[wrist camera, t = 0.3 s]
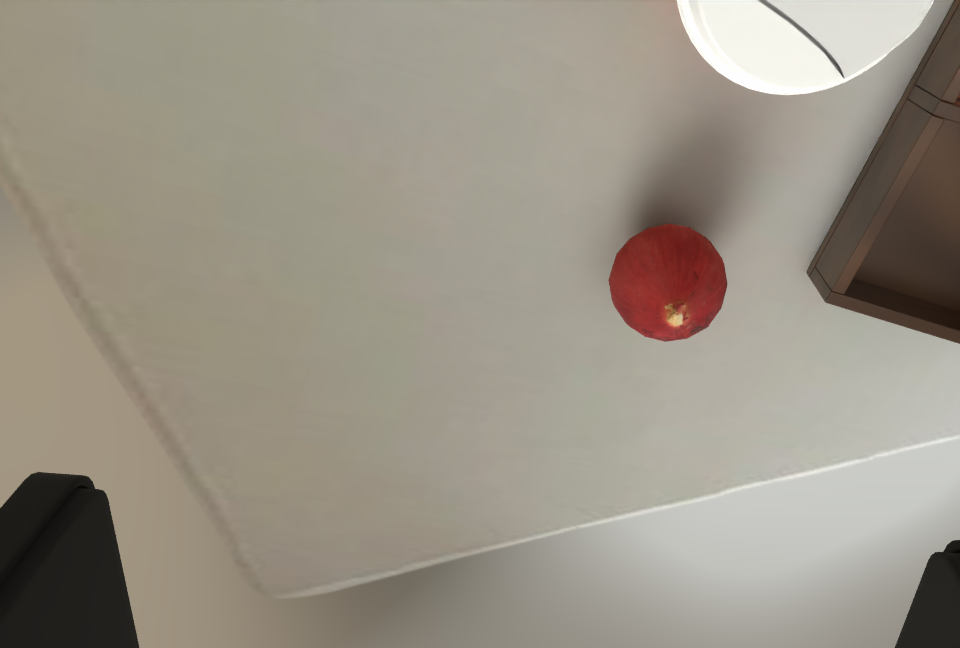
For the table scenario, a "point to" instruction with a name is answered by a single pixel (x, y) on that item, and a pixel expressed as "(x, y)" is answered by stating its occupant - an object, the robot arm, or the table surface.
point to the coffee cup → (798, 39)
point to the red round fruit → (668, 282)
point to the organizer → (906, 208)
